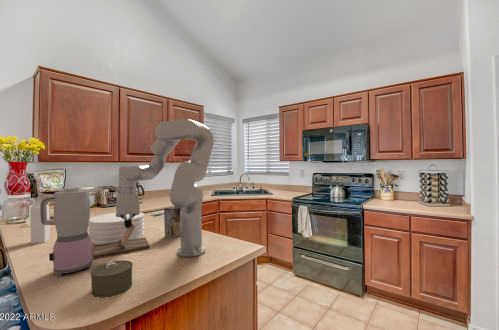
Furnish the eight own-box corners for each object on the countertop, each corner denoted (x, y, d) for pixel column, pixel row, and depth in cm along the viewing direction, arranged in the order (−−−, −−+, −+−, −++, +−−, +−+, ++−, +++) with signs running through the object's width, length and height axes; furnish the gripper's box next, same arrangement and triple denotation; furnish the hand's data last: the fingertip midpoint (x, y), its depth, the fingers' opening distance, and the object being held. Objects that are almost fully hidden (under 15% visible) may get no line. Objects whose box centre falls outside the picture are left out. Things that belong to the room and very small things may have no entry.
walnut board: (149, 248, 115) (149, 243, 115) (93, 259, 103) (93, 252, 103) (145, 239, 128) (145, 235, 128) (94, 248, 116) (94, 242, 116)
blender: (89, 260, 101) (88, 186, 101) (95, 268, 93) (94, 187, 93) (40, 272, 90) (38, 189, 90) (42, 283, 82) (41, 191, 82)
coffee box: (177, 232, 141) (177, 205, 141) (184, 234, 137) (184, 207, 137) (164, 236, 134) (163, 208, 134) (170, 238, 130) (170, 209, 130)
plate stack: (101, 248, 117) (100, 225, 117) (80, 238, 134) (80, 218, 134) (153, 234, 139) (153, 215, 139) (130, 227, 156) (130, 210, 156)
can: (91, 303, 70) (91, 280, 70) (90, 286, 79) (89, 266, 79) (136, 290, 77) (135, 269, 77) (129, 276, 86) (129, 257, 86)
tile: (121, 247, 111) (123, 248, 111) (133, 225, 114) (135, 226, 114) (119, 241, 119) (121, 242, 120) (131, 221, 122) (133, 222, 123)
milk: (36, 240, 130) (35, 200, 130) (49, 239, 132) (49, 200, 132) (30, 244, 125) (30, 202, 125) (45, 242, 127) (44, 201, 127)
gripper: (110, 192, 110) (110, 231, 110) (145, 190, 118) (145, 227, 118) (110, 190, 116) (110, 228, 116) (142, 189, 124) (143, 223, 124)
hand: (128, 227), depth 117 cm, fingers closed
